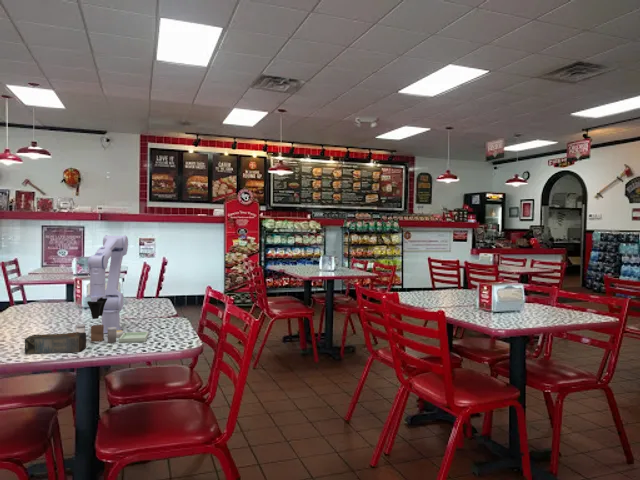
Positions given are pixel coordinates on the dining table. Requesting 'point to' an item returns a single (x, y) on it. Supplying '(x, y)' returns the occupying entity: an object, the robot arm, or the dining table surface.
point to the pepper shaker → (112, 334)
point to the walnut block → (97, 333)
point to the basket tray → (133, 337)
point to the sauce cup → (119, 333)
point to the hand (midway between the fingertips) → (97, 317)
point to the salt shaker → (80, 328)
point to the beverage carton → (55, 343)
